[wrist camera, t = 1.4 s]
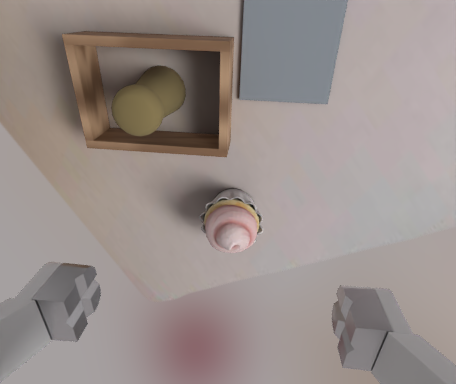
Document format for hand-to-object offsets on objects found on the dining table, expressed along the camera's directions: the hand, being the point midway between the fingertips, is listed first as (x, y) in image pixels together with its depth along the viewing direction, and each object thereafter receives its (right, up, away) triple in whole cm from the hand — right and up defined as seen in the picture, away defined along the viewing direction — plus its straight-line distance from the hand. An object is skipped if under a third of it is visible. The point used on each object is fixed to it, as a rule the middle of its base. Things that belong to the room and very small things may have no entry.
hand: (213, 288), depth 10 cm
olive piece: (-8, +16, +30) cm, 35 cm away
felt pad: (+8, +19, +26) cm, 33 cm away
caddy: (-8, +16, +29) cm, 35 cm away
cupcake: (+2, +1, +38) cm, 38 cm away
